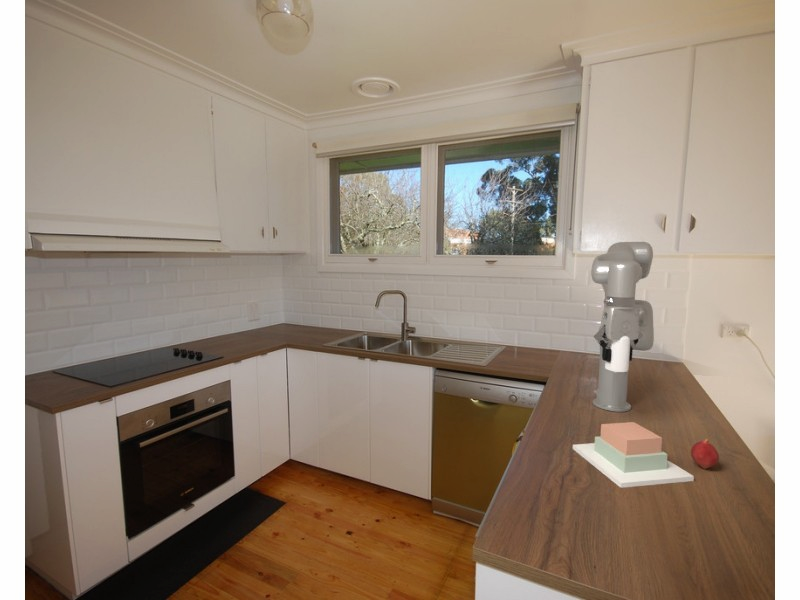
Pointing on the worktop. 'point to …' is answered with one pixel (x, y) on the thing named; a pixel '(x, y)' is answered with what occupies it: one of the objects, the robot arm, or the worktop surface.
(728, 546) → the worktop surface
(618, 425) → the tiered block pedestal
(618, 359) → the can
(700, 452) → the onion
